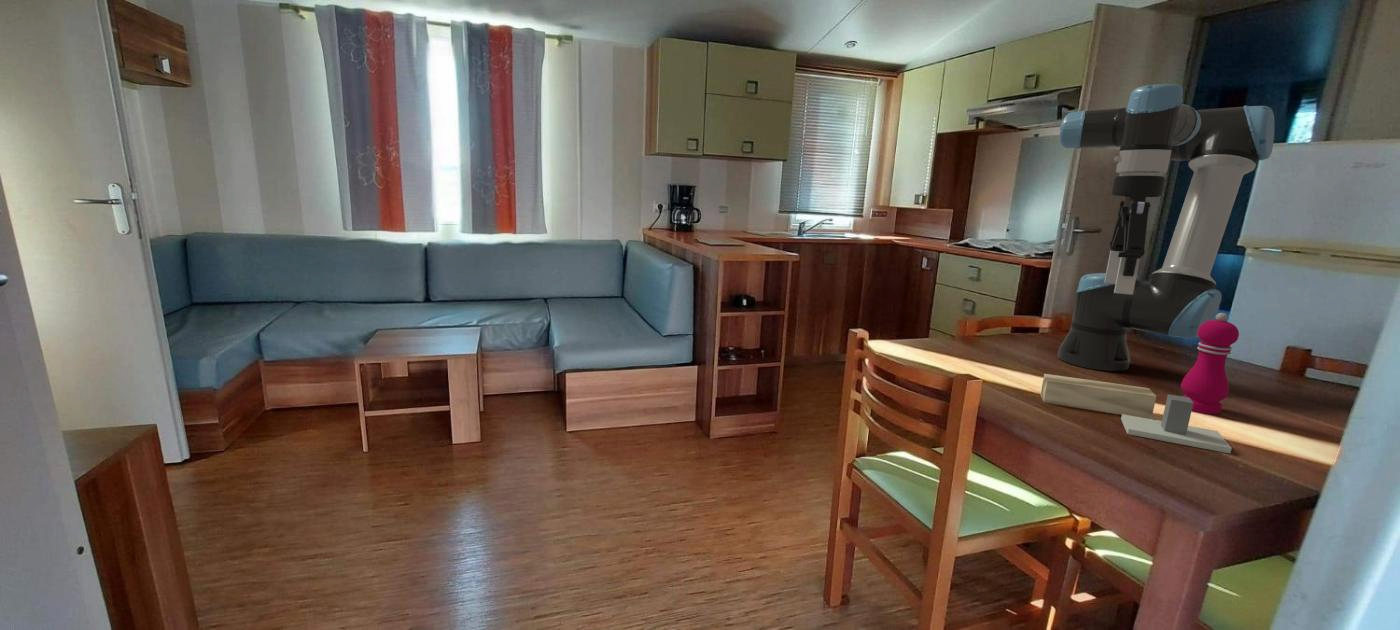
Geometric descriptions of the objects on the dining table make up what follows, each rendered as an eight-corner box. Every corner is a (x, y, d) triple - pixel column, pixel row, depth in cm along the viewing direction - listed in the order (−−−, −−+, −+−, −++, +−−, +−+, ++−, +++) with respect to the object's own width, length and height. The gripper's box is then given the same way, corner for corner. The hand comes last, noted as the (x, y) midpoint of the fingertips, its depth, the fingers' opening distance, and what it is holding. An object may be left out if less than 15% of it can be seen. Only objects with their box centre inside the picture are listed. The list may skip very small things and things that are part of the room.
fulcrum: (1120, 418, 107) (1128, 384, 106) (1216, 436, 100) (1225, 399, 99) (1127, 434, 100) (1135, 397, 99) (1230, 453, 94) (1240, 414, 92)
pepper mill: (1232, 417, 109) (1258, 318, 105) (1190, 413, 111) (1214, 315, 106) (1208, 403, 116) (1231, 310, 112) (1168, 400, 118) (1189, 307, 113)
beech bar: (1040, 395, 119) (1044, 373, 118) (1143, 411, 112) (1148, 388, 111) (1043, 403, 115) (1047, 380, 114) (1151, 420, 108) (1156, 396, 106)
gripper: (1106, 176, 115) (1087, 277, 120) (1126, 172, 94) (1102, 295, 99) (1151, 177, 112) (1130, 281, 116) (1182, 173, 90) (1155, 301, 95)
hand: (1117, 288), depth 108 cm, fingers open, 13 cm apart
